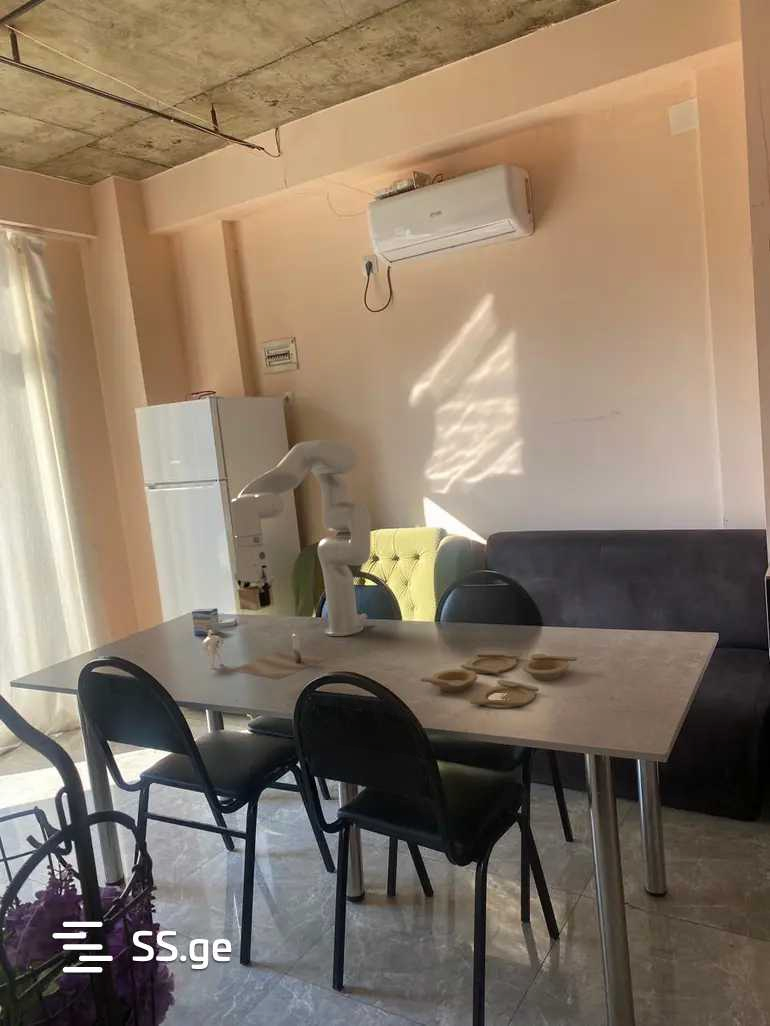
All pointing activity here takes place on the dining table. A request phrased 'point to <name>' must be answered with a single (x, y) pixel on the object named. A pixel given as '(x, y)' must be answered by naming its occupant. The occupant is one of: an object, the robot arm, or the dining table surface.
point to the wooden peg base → (279, 663)
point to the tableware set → (496, 663)
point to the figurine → (213, 647)
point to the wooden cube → (252, 598)
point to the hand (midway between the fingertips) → (257, 604)
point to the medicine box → (205, 621)
